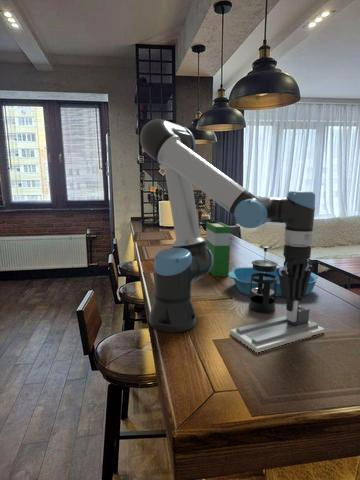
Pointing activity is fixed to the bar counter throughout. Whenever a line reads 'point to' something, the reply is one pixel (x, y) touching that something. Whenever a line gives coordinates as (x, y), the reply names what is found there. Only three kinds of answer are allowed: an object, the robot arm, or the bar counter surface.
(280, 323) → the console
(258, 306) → the french press
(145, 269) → the bar counter surface
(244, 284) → the casserole dish
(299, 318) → the fader tab
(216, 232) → the hardback book
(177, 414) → the bar counter surface
